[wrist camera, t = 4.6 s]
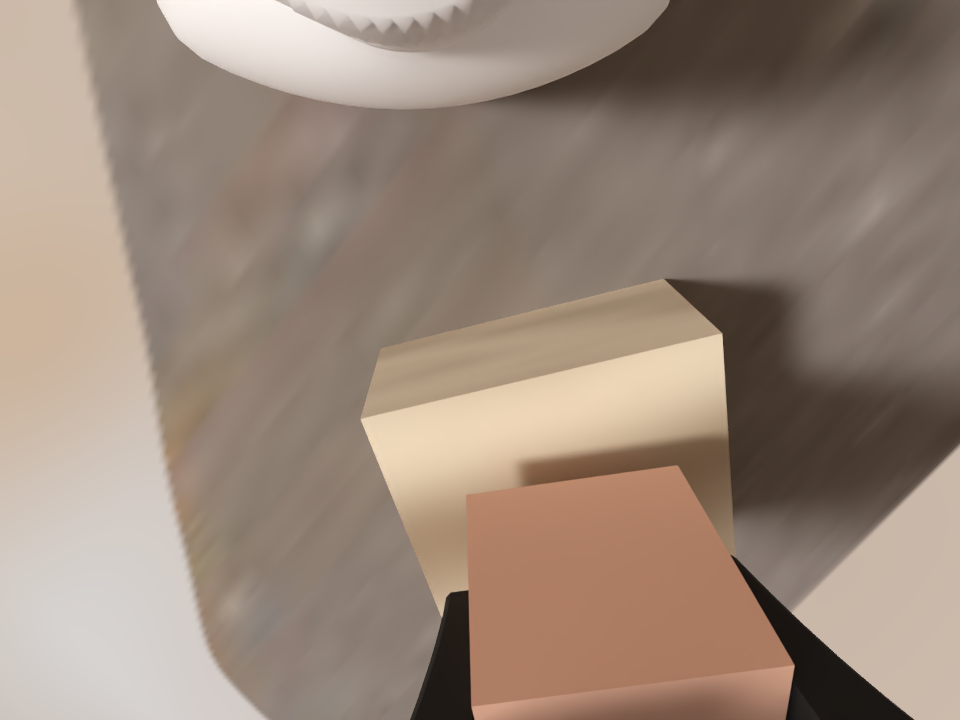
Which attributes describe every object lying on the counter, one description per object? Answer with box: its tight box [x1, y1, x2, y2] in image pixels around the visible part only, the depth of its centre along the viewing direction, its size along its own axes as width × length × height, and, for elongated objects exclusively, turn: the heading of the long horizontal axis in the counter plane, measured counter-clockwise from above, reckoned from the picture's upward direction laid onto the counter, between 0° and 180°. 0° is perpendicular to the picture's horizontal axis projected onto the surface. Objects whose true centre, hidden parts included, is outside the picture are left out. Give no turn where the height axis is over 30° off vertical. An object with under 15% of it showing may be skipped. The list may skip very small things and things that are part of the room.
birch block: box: [361, 279, 736, 617], centre depth 16 cm, size 8×8×4 cm
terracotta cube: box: [466, 465, 795, 720], centre depth 11 cm, size 4×4×4 cm
